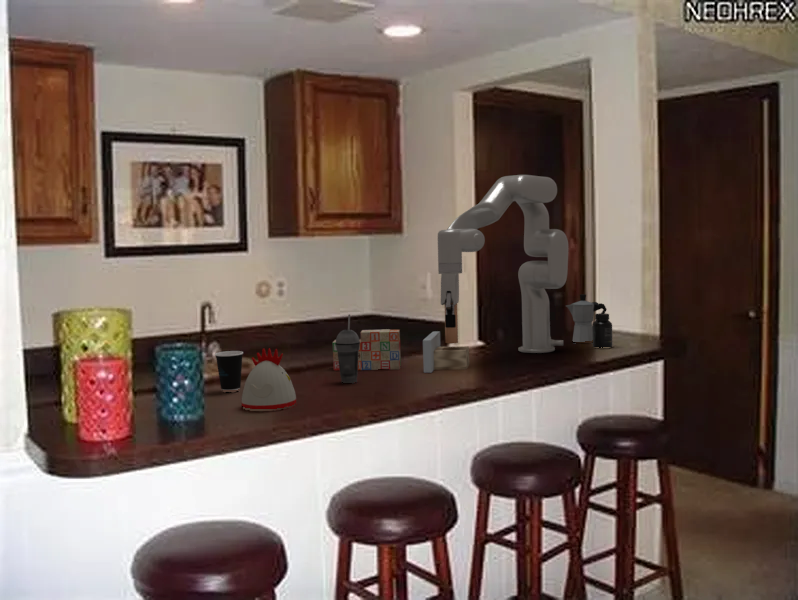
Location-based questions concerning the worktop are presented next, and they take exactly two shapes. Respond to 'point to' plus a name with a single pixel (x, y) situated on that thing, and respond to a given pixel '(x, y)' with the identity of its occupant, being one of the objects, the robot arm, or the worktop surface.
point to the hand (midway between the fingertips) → (451, 326)
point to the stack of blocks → (376, 350)
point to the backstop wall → (430, 350)
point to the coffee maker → (584, 318)
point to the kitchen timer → (268, 384)
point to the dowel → (452, 330)
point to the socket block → (451, 358)
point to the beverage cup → (348, 354)
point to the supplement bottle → (602, 331)
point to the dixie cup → (229, 369)
